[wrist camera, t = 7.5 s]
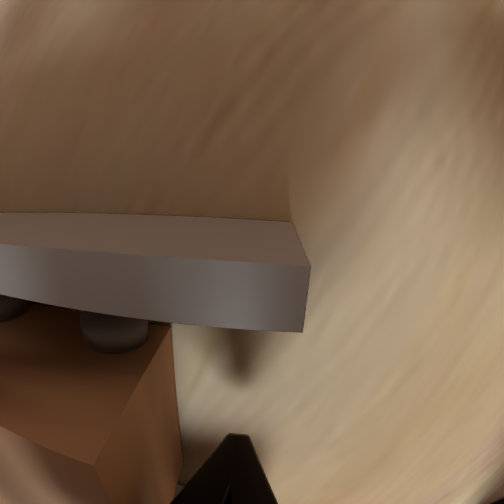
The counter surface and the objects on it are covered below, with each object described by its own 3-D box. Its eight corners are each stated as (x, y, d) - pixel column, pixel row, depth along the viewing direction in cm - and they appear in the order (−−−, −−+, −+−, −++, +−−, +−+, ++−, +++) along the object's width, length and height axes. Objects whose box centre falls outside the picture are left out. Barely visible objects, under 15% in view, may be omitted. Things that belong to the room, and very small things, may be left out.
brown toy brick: (170, 306, 8) (82, 441, 4) (184, 468, 10) (157, 573, 5) (-7, 278, 9) (-107, 336, 4) (39, 427, 10) (-13, 498, 6)
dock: (291, 221, 8) (310, 266, 4) (259, 504, 11) (256, 568, 7) (-49, 213, 8) (-114, 233, 5) (20, 444, 11) (-10, 484, 8)
